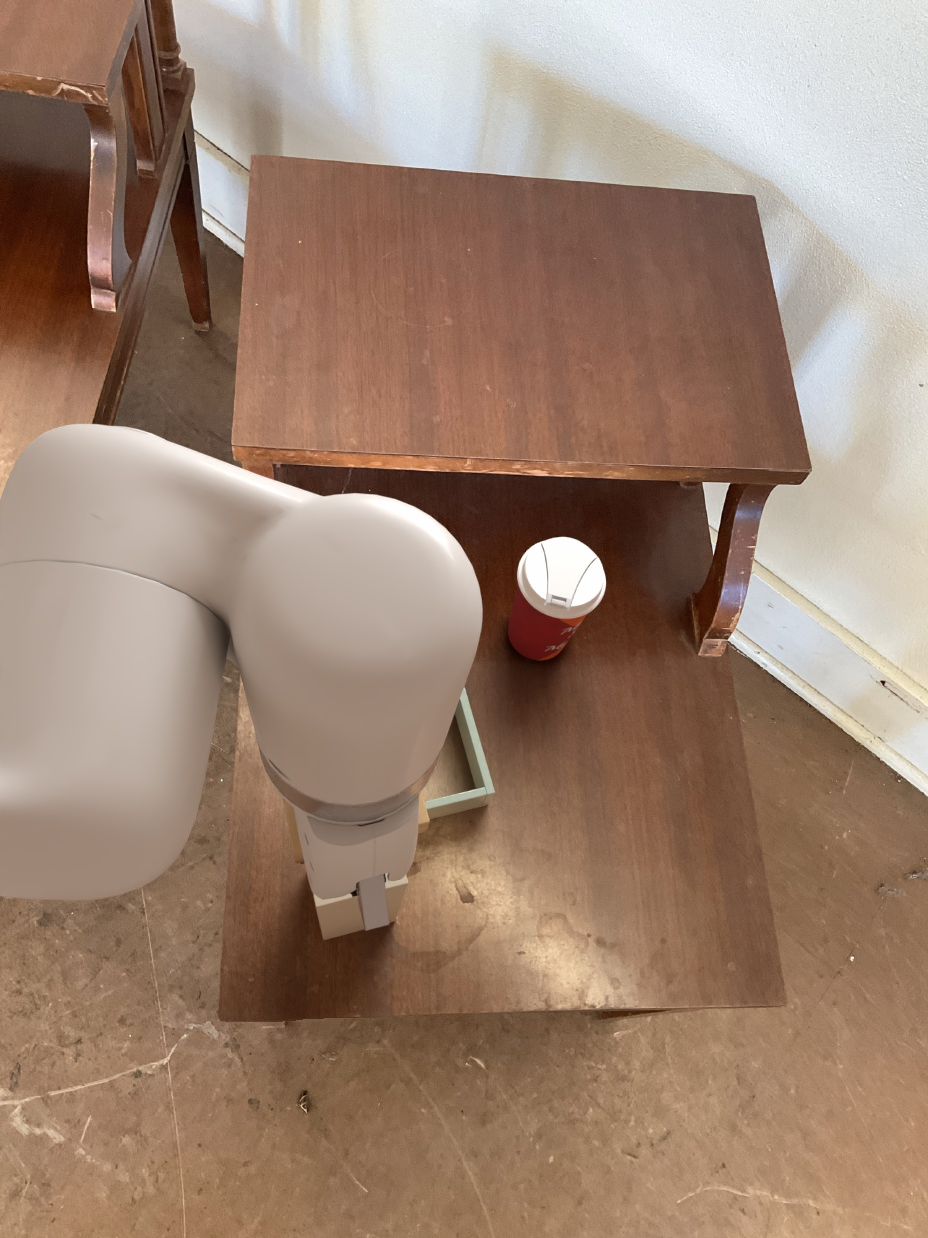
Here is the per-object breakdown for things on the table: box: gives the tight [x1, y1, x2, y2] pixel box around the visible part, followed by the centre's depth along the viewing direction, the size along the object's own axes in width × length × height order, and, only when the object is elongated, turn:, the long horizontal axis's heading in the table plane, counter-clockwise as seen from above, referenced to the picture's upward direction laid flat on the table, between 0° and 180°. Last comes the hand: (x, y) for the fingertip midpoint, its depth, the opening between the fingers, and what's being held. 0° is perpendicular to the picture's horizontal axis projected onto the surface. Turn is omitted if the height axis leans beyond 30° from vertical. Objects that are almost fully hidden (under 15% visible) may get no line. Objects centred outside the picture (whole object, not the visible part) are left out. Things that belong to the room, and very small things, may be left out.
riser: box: [312, 873, 409, 941], centre depth 68 cm, size 6×6×20 cm
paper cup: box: [507, 536, 607, 661], centre depth 83 cm, size 8×8×14 cm
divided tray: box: [424, 686, 496, 820], centre depth 82 cm, size 11×22×6 cm, turn 15°
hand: (346, 825), depth 53 cm, fingers closed on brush, 3 cm apart
